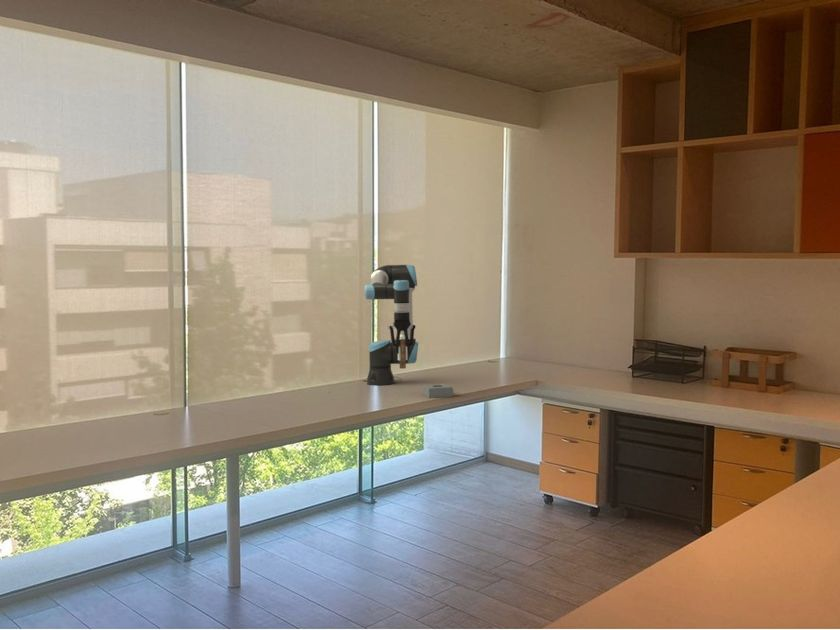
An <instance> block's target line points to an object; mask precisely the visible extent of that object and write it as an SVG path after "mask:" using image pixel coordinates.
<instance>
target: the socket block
mask: <svg viewBox="0 0 840 630" xmlns="http://www.w3.org/2000/svg"><path fill="white" fill-rule="evenodd" d="M422 395H423V396H425V397H427V398H429V399H434V398H436V399H437V398H447V397H449V398H451V397H454V387H453V386H451V385H449V384H447V383H437V384H422Z"/></svg>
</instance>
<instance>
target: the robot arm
mask: <svg viewBox="0 0 840 630" xmlns="http://www.w3.org/2000/svg"><path fill="white" fill-rule="evenodd" d="M417 279H418V278H417V272H416V267H415V265H413V264H386V265H382V266H380V267H378V268H376V269H375V270H373V272H371V275H370V283H369V284H366V285H365V286H364V296H365V299H366V300H371V301H374V300H393V311H394V313H393V316H394V317H393V320H394V321H393V323H392V324H391V325H388V326H387V327H388V329H389V334H390V339H384V340H379V341H373V342H371V343H370V344H369V349H368V350H369V351H368V353H369V372H368V374H367V377H366V384H367V385H371V386H386V385H393V384H395V377H394V374H393V371H392V365H400V360H401V359H400V347H399V340H400V339H405V352H406V364H407V365H408V364H409V365H410V364H415V363H416V362H417V358H418V351H419V342H417V340H416V338H415V337H414V335H415V329H416V327H417V326H416V325H415V324H413V322H414V320H413V317H414V316H413V315H414V314H413V292H414V291H415V290H416V287H418V280H417ZM394 329H396V336H395V332H394Z"/></svg>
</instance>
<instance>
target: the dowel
mask: <svg viewBox="0 0 840 630" xmlns="http://www.w3.org/2000/svg"><path fill="white" fill-rule="evenodd" d="M399 347H400V359H401V360H400V364H399V369H407V365H406V352H405V339H400V340H399Z"/></svg>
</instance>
